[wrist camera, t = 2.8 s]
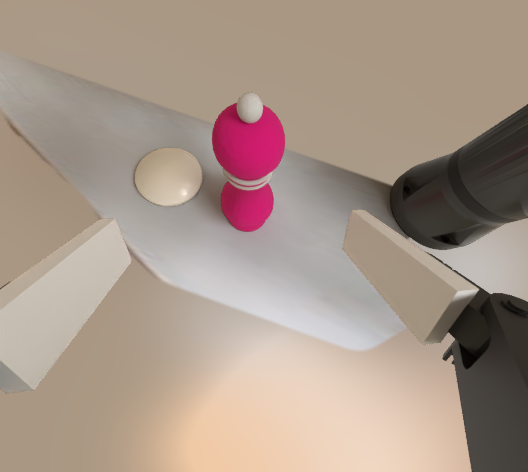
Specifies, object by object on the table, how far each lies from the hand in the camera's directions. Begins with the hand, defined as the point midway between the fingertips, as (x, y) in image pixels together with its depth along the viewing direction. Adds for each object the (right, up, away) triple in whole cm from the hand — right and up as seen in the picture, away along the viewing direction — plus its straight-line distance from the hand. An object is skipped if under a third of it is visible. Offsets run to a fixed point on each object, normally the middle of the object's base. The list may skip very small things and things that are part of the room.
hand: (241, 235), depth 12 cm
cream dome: (-14, +9, +21) cm, 26 cm away
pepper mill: (-1, +3, +20) cm, 21 cm away
